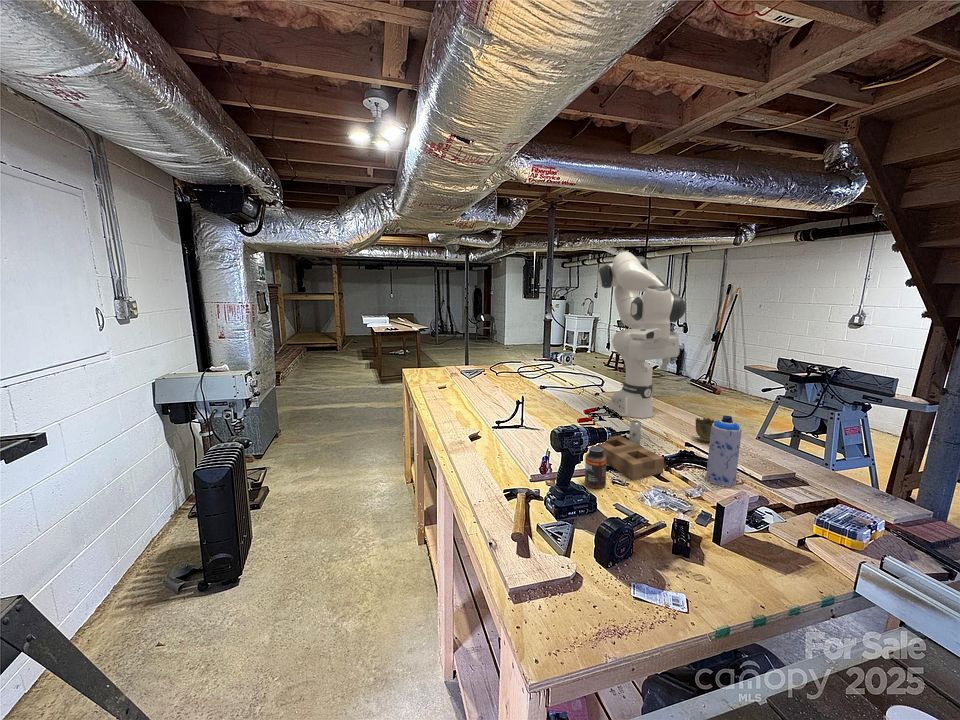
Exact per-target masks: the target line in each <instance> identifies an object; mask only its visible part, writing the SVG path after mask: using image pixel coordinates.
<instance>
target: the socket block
mask: <svg viewBox="0 0 960 720" xmlns="http://www.w3.org/2000/svg"><path fill="white" fill-rule="evenodd" d="M596 446H598V447H601V448H603V455H605V456H606V459H607V462H606V465H607V466H610V467H611V468H613V469H615V470H616V471H618V472H619V473H620V474H622V475H624V476H626V477H627V478H629V479H630V480H632V481H634V480H639V479H643V478H647V477H652V476H655V475H660V474H663V473H664V469H665V457H663V456H662V455H660V454H658V453H656V452H653V451H652V450H650V449H647V448H645V447H644V446H642V445H638V444H636V443H634V442H632V441H630V440H629V439H627V438H626V437H624V436H622V435H614V436H609V439H608V441H606V442H605V443H602V444H598V445H596Z"/></svg>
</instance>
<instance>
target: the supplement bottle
mask: <svg viewBox="0 0 960 720" xmlns="http://www.w3.org/2000/svg"><path fill="white" fill-rule="evenodd" d="M584 461H585V463H584V465H585V468H584V470H585V471H584V474H585V475H584V483H585V485H586V486H587V487H589V488H591V489H596V490H597V489H603V488H605V487H606V484H607V464H606V462H607V459H606V456H605V455H603V448H601V447H598V446H592V445H591V446H589V448H588V453H587V454H586V455H585V460H584Z"/></svg>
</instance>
